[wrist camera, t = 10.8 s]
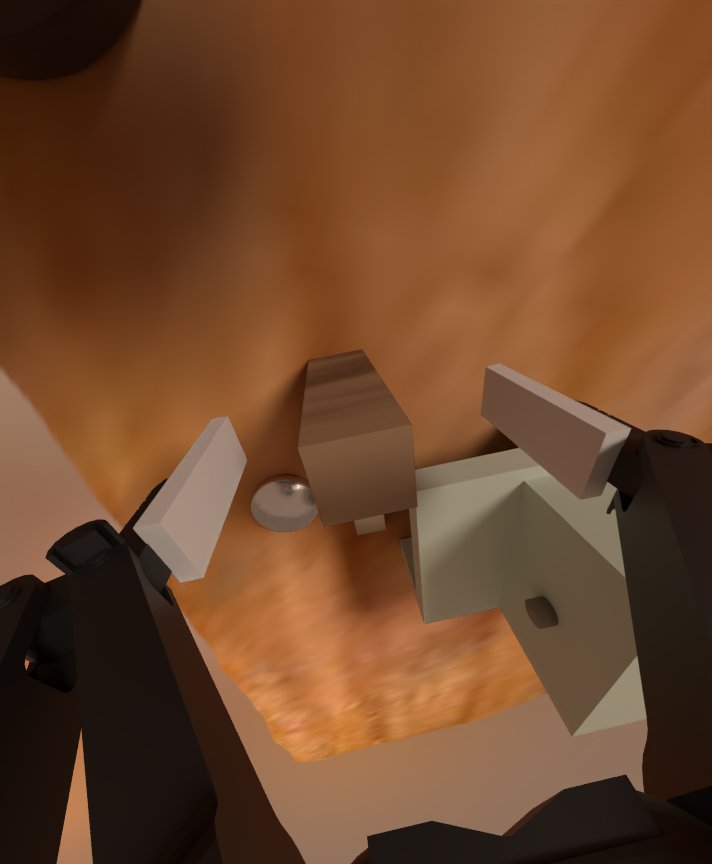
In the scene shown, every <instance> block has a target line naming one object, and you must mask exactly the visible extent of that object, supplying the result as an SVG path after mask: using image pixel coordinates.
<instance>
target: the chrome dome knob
mask: <svg viewBox="0 0 712 864" xmlns="http://www.w3.org/2000/svg"><path fill="white" fill-rule="evenodd" d="M251 512H252V515H253V517H254V519H255V520H256V521H257V522H258V523H259V524H260V525H262V526H263V527H265V528H267V529H270V530H273V531H279V532H291V531H296V530H299V529H302V528H304V527H306V526H308V525H309V524H310V523H311V522H312V521H313V520H314V519H315V517H316V516H317V513H318V508H317V505H316V502H315V499H314V496H313V493H312V490H311V487H310V484H309V481H307V480H306V479H304V478H302V477H299V476H295V475H288V474H283V475H276V476H273V477H270V478H268V479H266V480H264V481H263V482H262V483H260V484H259V486H258V487H257V488H256V490H255V492H254V496H253V499H252V503H251Z"/></svg>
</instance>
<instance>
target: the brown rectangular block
mask: <svg viewBox="0 0 712 864" xmlns="http://www.w3.org/2000/svg"><path fill="white" fill-rule="evenodd" d="M298 451H299V454H300V457H301V460H302V463H303V466H304V469H305V472H306V475H307V478H308V481H309V484H310V487H311V490H312V493H313V496H314V499H315V502H316V505H317V508H318V511H319V514H320V517H321V520H322V523H323V526H324V527H328V526H333V525H337V524H342V523H346V522H351V521H354V524H355V528H356V532H357V536H359V535H363V534H368V533H373V532H377V531H382V530H386V525H385V519H384V514H388V513H392V512H397V511H402V510H406V509H411V508H415V507H418V504H417V490H416V477H415V463H414V449H413V435H412V424H411V422H410V421H409V419H408V418H407V416H406V415H405V413H404V412H403V410H402V409H401V407H400V406H399V404H398V403H397V401H396V400H395V398H394V397H393V395H392V394H391V392H390V391H389V389H388V388H387V386H386V385H385V383H384V382H383V380H382V379H381V377H380V376H379V374H378V373H377V371H376V370H375V368H374V367H373V365H372V364H371V362H370V361H369V359H368V358H367V356H366V355H365V353H364V352H363V350H357V351H352V352H347V353H342V354H337V355H332V356H327V357H322V358H317V359H312V360H308V368H307V376H306V384H305V392H304V400H303V409H302V417H301V425H300V433H299V441H298Z"/></svg>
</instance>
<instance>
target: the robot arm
mask: <svg viewBox="0 0 712 864" xmlns="http://www.w3.org/2000/svg"><path fill="white" fill-rule="evenodd" d="M137 1H138V0H0V76H5V77H10V78H19V79H48V78H55V77H59V76H64V75H67V74H70V73H73V72H76V71H78V70H80V69H82V68H84V67H86V66H88V65H89V64H91V63H92V62H94V61H95V60H97V59H98V58H99V57H100V56H101V55H102V54H104V53H105V52H106V51H107V50H108V49H109V48H110V47H111V45H112V44H113V43H114V42H115V41H116V40H117V38H118V37H119V35H120V34H121V32H122V31H123V30H124V28H125V26H126V24H127V23H128V21H129V19H130V17H131V15H132V13H133V10H134V8H135V6H136V3H137ZM481 415H482V416H483V417H484V418H486V419H487V420H488V421H489V422H490V423H491V424H493V425H494V426H495V427H496V428H497V429H498V430H500V431H501V432H502V433H503V434H504V435H505V436H506V437H508V438H509V439H510V440H511V441H512V442H513V443H515V444H516V445H517V446H518V447H519V448H520V449H522V450H523V451H524V452H525V453H526V454H527V455H529V456H530V457H531V458H532V459H533V460H534V461H535V462H537V463H538V464H539V465H540V466H541V467H542V468H544V469H545V470H546V471H547V472H548V473H549V474H551V475H552V476H553V477H554V478H555V479H556V480H558V481H559V482H560V483H561V484H562V485H563V486H564V487H566V488H567V489H568V490H569V491H570V492H571V493H573V494H574V495H575V496H576V497H577V498H578V499H580V500H583V499H587V498H592V497H597V496H601V495H602V493H603V491H604V488H605V486H606V484H607V482H608V483H610V484H611V485H613V486H614V487H615V488H617V490H616V492H615V494H614V496H613V498H612V500H611V502H610V504H609V506H608V508H607V511H606V514H611V512H612V510H614V509H615V511H616V518H617V525H618V531H619V538H620V545H621V551H622V558H623V564H624V571H625V578H626V584H627V591H628V598H629V604H630V611H631V618H632V624H633V631H634V637H635V644H636V651H637V657H638V664H639V671H640V677H641V684H642V691H643V697H644V704H645V710H646V717H647V726H648V734H647V741H646V745H645V749H644V753H643V763H642V772H643V785H644V793H643V792H640V791H636V790H635V788H634V787H633V785H632V783H631V782H630V780H629V779H628V777H627V775H622V776H618V777H613V778H609V779H605V780H601V781H597V782H593V783H588V784H584V785H581V786H576V787H572V788H568V789H564V790H562V791H560V792H559V793H557V794H556V795H554V796H553V797H551V798H550V799H548V800H546V801H544V802H543V803H542V804H540V805H538V806H536V807H535V808H533V809H532V810H531V811H529V812H528V813H527V814H526V815H525V816H524V817H523V818H521V819H520V820H519V821H518V822H517V823H516V824H515V825H513V826H512V827H511V828H510V829H509V830H508V831H507V832H506V833H504V834H503V835H502V836H499V835H495V834H489V833H485V832H481V831H476V830H471V829H467V828H462V827H458V826H453V825H449V824H444V823H439V822H435V821H429V822H425V823H421V824H417V825H413V826H408V827H404V828H400V829H396V830H392V831H387V832H383V833H379V834H375V835H371V836H367V839H368V848H367V849H366V850H365V851H363V852H362V853H361V854H360V855H359V856H357V858H356V859H355V860H354V861H353V862H352V863H351V864H712V443H704V442H702V441H701V440H699V439H697V438H695V437H693V436H690V435H687V434H684V433H681V432H676V431H670V430H649V431H647V432H645V431H643V430H641V429H638V428H636V427H634V426H632V425H630V424H628V423H626V422H624V421H622V420H620V419H618V418H616V417H614V416H612V415H608V414H607V413H605V412H603V411H601V410H598V409H597V408H595V407H593V406H591V405H589V404H587V403H584V402H580V401H576V400H573V399H571V398H569V397H567V396H565V395H563V394H561V393H559V392H557V391H554V390H552V389H550V388H548V387H546V386H544V385H542V384H540V383H538V382H536V381H534V380H532V379H530V378H528V377H526V376H524V375H522V374H520V373H518V372H516V371H514V370H512V369H510V368H508V367H506V366H504V365H502V364H497V365H492V366H487V367H486V370H485V380H484V390H483V399H482V409H481ZM246 463H247V458H246V456H245V453H244V451H243V449H242V447H241V445H240V442H239V440H238V438H237V436H236V434H235V431H234V429H233V427H232V425H231V423H230V420H229V418H228V416H224V417H219V418H213V419H211V421H210V422H209V423H208V425H207V426H206V428H205V429H204V430H203V432H202V433H201V435H200V436H199V437H198V439H197V440H196V441H195V443H194V444H193V446H192V447H191V448H190V450H189V451H188V452H187V454H186V455H185V457H184V458H183V459H182V461H181V462H180V464H179V465H178V466H177V468H176V469H175V470H174V472H173V473H172V475H171V476H170V477H169V478H168V479H165V480H163V481H162V482H161V483H160V484H159V485H157V486H156V487H155V488H154V489H153V490H152V491H151V493H150V494H149V495H148V497H147V498H146V501H144V502H143V503H142V504H141V506H140V507H139V510H137V511H136V512H135V514H134V515H133V516H132V518H131V519H130V520H129V522H128V523H127V524H126V525H125V527H124V528H123V529H122V531H121V532H120V533H119V534H118V533H117V531H116V530H115V529H114V528H113V527H112V526H111V525H110V524H109V523H108V522H107V521H106V520H95V521H90V522H87V523H85V524H83V525H81V526H79V527H76V528H75V529H73V530H72V531H70V532H68V533H67V534H65V535H64V536H63V537H62V538H60V539H59V540H58V541H56V542H55V543H54V545H53V546H52V547H51V548H50V549H49V550H48V552H47V555H46V559H47V560H49V561H50V562H51V563H52V564H54V565H55V566H56V567H57V568H59V569H60V570H61V571H62V572H64V573H65V575H63V576H61V577H58V578H56V579H53V580H51V581H49V582H46V583H44V582H42V581H41V580H40V579H38V578H37V577H35V576H34V575H24V576H21V577H18V578H15V579H13V580H11V581H9V582H7V583H5V584H3V585H1V586H0V864H56V863H57V858H58V852H59V846H60V841H61V835H62V830H63V825H64V819H65V814H66V809H67V803H68V798H69V792H70V787H71V782H72V776H73V770H74V765H75V760H76V754H77V749H78V743H79V738H80V732H81V729H82V741H83V752H84V764H85V775H86V787H87V799H88V810H89V823H90V834H91V846H92V857H93V864H306V863H305V861H304V860H303V858H302V856H301V854H300V852H299V850H298V848H297V846H296V845H295V843H294V841H293V840H292V838H291V837H290V835H289V834H288V833H287V831H286V830H285V829H284V828H283V826H282V825H281V823H280V822H279V820H278V818H277V817H276V815H275V813H274V811H273V809H272V806H271V804H270V802H269V800H268V798H267V796H266V794H265V792H264V789H263V787H262V785H261V783H260V781H259V778H258V776H257V774H256V772H255V770H254V768H253V765H252V764H251V761H250V759H249V757H248V755H247V753H246V750H245V748H244V746H243V744H242V742H241V740H240V737H239V735H238V733H237V731H236V729H235V727H234V725H233V722H232V720H231V718H230V716H229V714H228V712H227V709H226V707H225V705H224V703H223V701H222V699H221V696H220V694H219V692H218V690H217V688H216V686H215V683H214V681H213V679H212V677H211V675H210V673H209V671H208V668H207V666H206V664H205V662H204V660H203V658H202V655H201V653H200V651H199V649H198V647H197V645H196V642H195V640H194V638H193V636H192V634H191V632H190V630H189V627H188V625H187V623H186V621H185V619H184V617H183V614H182V612H181V610H180V608H179V606H178V604H177V601H176V599H175V597H174V595H173V593H172V591H171V589H170V588H169V587H168V586H167V585H166V583H167V581H168V579H169V577H170V575H171V573H172V574H173V575H174V576H175V577H176V578H177V579H178V581H179V582H180V583H182V582H187V581H192V580H196V579H201V578H204V575H205V573H206V570H207V567H208V565H209V562H210V559H211V556H212V554H213V551H214V548H215V546H216V543H217V540H218V538H219V535H220V532H221V530H222V527H223V524H224V522H225V519H226V516H227V514H228V511H229V508H230V506H231V503H232V500H233V498H234V495H235V492H236V490H237V487H238V484H239V482H240V479H241V476H242V473H243V471H244V468H245V465H246ZM25 659H26V660H28V661H30V662H29V665H28V668H27V670H26V668H25Z"/></svg>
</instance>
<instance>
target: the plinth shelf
mask: <svg viewBox="0 0 712 864" xmlns="http://www.w3.org/2000/svg"><path fill="white" fill-rule="evenodd" d="M415 477H416V490H417V504H418V507H415V508H411V509H409V514H410V525H411V536H412V537H409V538H405V539H400V547H401V551H402V554H403V557H404V560H405V564H406V567H407V570H408V573H409V576H410V580H411V583H412V586H413V589H414V593H415V596H416V599H417V602H418V605H419V609H420V612H421V615H422V618H423V622H424V624H428V623H432V622H437V621H441V620H446V619H450V618H455V617H459V616H464V615H468V614H472V613H477V612H481V611H486V610H490V609H495V608H499V607H500V609H501V611H502V613H503V614H504V616H505V618H506V620H507V621H508V623H509V625H510V627H511V629H512V630H513V632H514V634H515V636H516V638H517V639H518V641H519V643H520V645H521V647H522V648H523V650H524V652H525V654H526V655H527V657H528V659H529V661H530V663H531V664H532V666H533V668H534V670H535V672H536V673H537V675H538V677H539V679H540V681H541V682H542V684H543V686H544V688H545V689H546V691H547V693H548V695H549V696H550V698H551V700H552V702H553V704H554V706H555V707H556V709H557V711H558V713H559V714H560V716H561V718H562V720H563V722H564V723H565V725H566V727H567V729H568V731H569V732H570V734H571V736H572V737H573V736H577V735H581V734H585V733H589V732H594V731H598V730H602V729H606V728H610V727H614V726H619V725H623V724H627V723H631V722H635V721H639V720H643V719H647V717H646V710H645V704H644V697H643V691H642V684H641V677H640V671H639V664H638V657H637V651H636V644H635V637H634V631H633V624H632V618H631V611H630V604H629V598H628V591H627V584H626V578H625V571H624V564H623V558H622V551H621V545H620V538H619V531H618V525H617V518H616V511H615V509H614V510H612V512H611V514H606V511H607V508H608V506H609V504H610V502H611V500H612V498H613V496H614V494H615V492H616V490H617V488H615V487H614V486H613V485H611V484H610V483H608V482H607V484H606V486H605V488H604V491H603V493H602V495H601V496H597V497H592V498H587V499H583V500H580V499H578V498H577V497H576V496H575V495H574V494H573V493H571V492H570V491H569V490H568V489H567V488H566V487H564V486H563V485H562V484H561V483H560V482H559V481H558V480H556V479H555V478H554V477H553V476H552V475H551V474H549V473H548V472H547V471H546V470H545V469H544V468H542V467H541V466H540V465H539V464H538V463H537V462H535V461H534V460H533V459H532V458H531V457H530V456H529V455H527V454H526V453H525V452H524V451H523V450H522V449H520V448H519V447H518V448H516V449H512V450H507V451H502V452H497V453H493V454H488V455H483V456H478V457H473V458H469V459H464V460H459V461H454V462H450V463H445V464H440V465H435V466H430V467H426V468H421V469H416V470H415Z"/></svg>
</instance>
